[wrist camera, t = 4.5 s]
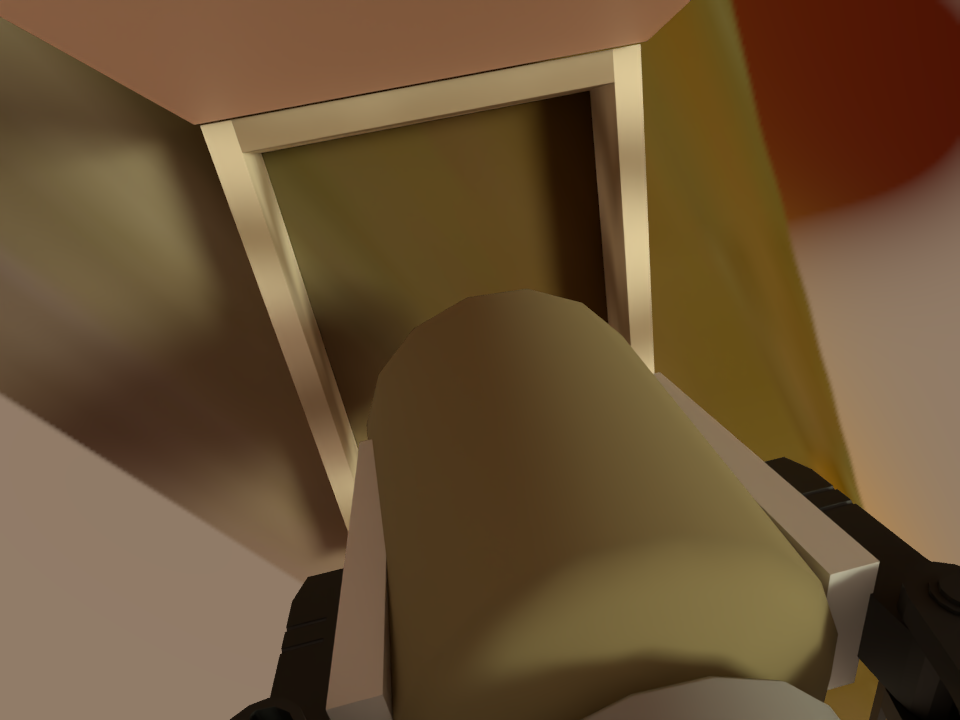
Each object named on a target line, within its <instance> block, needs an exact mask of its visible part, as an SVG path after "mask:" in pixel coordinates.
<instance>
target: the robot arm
mask: <svg viewBox="0 0 960 720" xmlns="http://www.w3.org/2000/svg"><path fill="white" fill-rule="evenodd" d="M654 376H655V377H656V378H657V379H658V381H659V382H660V383H661V384H662V386H663V387H664V388H665V389H666V391H667V392H668V393H669V394H670V395H671V397H672V398H673V399H674V400H675V402H676V403H677V404H678V405H679V407H680V408H681V409H682V410H683V412H684V413H685V414H686V415H687V416H688V418H689V419H690V420H691V421H692V423H693V424H694V425H695V426H696V428H697V429H698V430H699V431H700V433H701V434H702V435H703V436H704V437H705V439H706V440H707V441H708V442H709V444H710V445H711V446H712V447H713V449H714V450H715V451H716V452H717V454H718V455H719V456H720V457H721V458H722V460H723V461H724V462H725V463H726V465H727V466H728V467H729V468H730V470H731V471H732V472H733V473H734V475H735V476H736V477H737V478H738V479H739V481H740V482H741V483H742V484H743V486H744V487H745V488H746V489H747V491H748V492H749V493H750V494H751V496H752V497H753V498H754V499H755V501H756V502H757V503H758V504H759V505H760V507H761V508H762V509H763V510H764V512H765V513H766V514H767V515H768V517H769V518H770V519H771V520H772V522H773V523H774V524H775V525H776V526H777V528H778V529H779V530H780V531H781V533H782V534H783V535H784V536H785V538H786V539H787V540H788V541H789V543H790V544H791V545H792V546H793V547H794V549H795V550H796V551H797V552H798V554H799V555H800V556H801V557H802V559H803V560H804V561H805V562H806V564H807V565H808V566H809V567H810V568H811V570H812V571H813V572H814V573H815V575H816V576H817V577H818V578H819V580H820V581H821V583H822V586H823V589H824V592H825V595H826V598H827V602H828V605H829V608H830V611H831V614H832V617H833V620H834V623H835V626H836V629H837V632H838V638H837V643H836V649H835V655H834V661H833V667H832V673H831V678H830V681H829V685H828V689H827V690H829V689H833V688H836V687H840V686H843V685H847V684H850V683H854V681H855V676H856V671H857V667H858V662H859V659H860V660H861V661H862V662H863V663H864V664H865V665H866V666H867V668H868V669H869V670H870V671H871V672H872V673H873V674H874V675H875V676H876V678H877V679H878V680H879V682H878V686H877V690H876V694H875V698H874V702H873V707H872V711H871V715H870V719H869V720H886V718H887V720H960V566H958V565H955V564H947V563H940V562H931V561H929V560H928V559H926V558H925V557H923V556H922V555H921V554H920V553H918V552H917V551H916V550H915V549H913V548H912V547H911V546H909V545H908V544H907V543H906V542H904V541H903V540H902V539H900V538H899V537H898V536H896V535H895V534H894V533H893V532H891V531H890V530H889V529H888V528H886V527H885V526H884V525H883V524H881V523H880V522H879V521H877V520H876V519H875V518H873V517H872V516H871V515H870V514H868V513H867V512H866V511H865V510H863V509H862V508H861V507H859V506H858V505H857V504H853V503H852V502H851V500H850V499H849V498H848V497H847V496H845V495H844V494H843V493H841V492H840V491H839V490H838V489H836V490H835V489H834V488H833V486H832V485H831V484H830V483H829V482H827V481H826V480H825V479H823V478H822V477H821V476H820V475H818V474H817V473H816V472H815V471H813V470H812V469H810V468H808V467H805V466H803V465H801V464H799V463H796V462H794V461H792V460H790V459H787V458H785V457H782V458H778V459H774V460H770V461H766V462H764V461H762V460H761V459H760V458H759V457H758V456H757V455H755V454H754V453H753V452H752V451H751V450H750V449H748V448H747V447H746V446H745V445H744V444H743V443H741V442H740V441H739V440H738V439H737V438H736V437H735V436H733V435H732V434H731V433H730V432H729V431H728V430H726V429H725V428H724V427H723V426H722V425H721V424H719V423H718V422H717V421H716V420H715V419H714V418H712V417H711V416H710V415H709V414H708V413H707V412H705V411H704V410H703V409H702V408H701V407H700V406H698V405H697V404H696V403H695V402H694V401H693V400H692V399H690V398H689V397H688V396H687V395H686V394H685V393H683V392H682V391H681V390H680V389H679V388H678V387H676V386H675V385H674V384H673V383H672V382H671V381H669V380H668V379H667V378H666V377H665V376H664V375H662V374H661V373H660V372H659V373H655V374H654ZM286 628H287V632H285V635H284V640H283V644H282V648H281V649H282V654H280V657H279V661H278V665H277V670H276V674H275V678H274V683H273V687H272V691H271V696H270V698H267V699H265V700H262V701H259V702H257V703H254V704H252V705H249V706H248V707H246V708H245V709H244V710H242V711H241V712H240V713H238V714H237V715H235V716H234V717H233V718H232V719H230V720H393V710H392V693H391V667H390V641H389V615H388V589H387V563H386V550H385V541H384V533H383V525H382V517H381V508H380V500H379V492H378V484H377V476H376V467H375V459H374V451H373V443H372V439H371V440H366V441H362V442H360V443H359V451H358V459H357V467H356V475H355V483H354V490H353V498H352V506H351V514H350V522H349V530H348V538H347V546H346V554H345V561H344V568H343V569H339V570H335V571H331V572H327V573H323V574H319V575H315V576H311V577H307V579H306V581H305V582H304V584H303V585H302V587H301V589H300V590H299V592H298V593H297V595H296V596H295V598H294V599H293V601H292V605H291V609H290V613H289V618H288V622H287V627H286Z"/></svg>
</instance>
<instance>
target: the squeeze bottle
mask: <svg viewBox="0 0 960 720" xmlns="http://www.w3.org/2000/svg"><path fill="white" fill-rule="evenodd" d="M367 435H368V440H371V439H372V443H373V451H374V459H375V467H376V476H377V484H378V492H379V500H380V508H381V517H382V525H383V533H384V541H385V550H386V563H387V589H388V615H389V641H390V667H391V693H392V710H393V720H840V719H839V718H838V716H837V715H836V714H835V713H834V711H833V710H832V709H831V707H830V706H828V705H827V704H825V703H824V700H825V696H826V692H827V689H828V685H829V681H830V678H831V673H832V667H833V661H834V655H835V649H836V643H837V638H838V632H837V629H836V626H835V623H834V620H833V617H832V614H831V611H830V608H829V605H828V602H827V598H826V595H825V592H824V589H823V586H822V583H821V581H820V580H819V578H818V577H817V576H816V575H815V573H814V572H813V571H812V570H811V568H810V567H809V566H808V565H807V564H806V562H805V561H804V560H803V559H802V557H801V556H800V555H799V554H798V552H797V551H796V550H795V549H794V547H793V546H792V545H791V544H790V543H789V541H788V540H787V539H786V538H785V536H784V535H783V534H782V533H781V531H780V530H779V529H778V528H777V526H776V525H775V524H774V523H773V522H772V520H771V519H770V518H769V517H768V515H767V514H766V513H765V512H764V510H763V509H762V508H761V507H760V505H759V504H758V503H757V502H756V501H755V499H754V498H753V497H752V496H751V494H750V493H749V492H748V491H747V489H746V488H745V487H744V486H743V484H742V483H741V482H740V481H739V479H738V478H737V477H736V476H735V475H734V473H733V472H732V471H731V470H730V468H729V467H728V466H727V465H726V463H725V462H724V461H723V460H722V458H721V457H720V456H719V455H718V454H717V452H716V451H715V450H714V449H713V447H712V446H711V445H710V444H709V442H708V441H707V440H706V439H705V437H704V436H703V435H702V434H701V433H700V431H699V430H698V429H697V428H696V426H695V425H694V424H693V423H692V421H691V420H690V419H689V418H688V416H687V415H686V414H685V413H684V412H683V410H682V409H681V408H680V407H679V405H678V404H677V403H676V402H675V400H674V399H673V398H672V397H671V395H670V394H669V393H668V392H667V391H666V389H665V388H664V387H663V386H662V384H661V383H660V382H659V381H658V379H657V378H656V377H655V376H654V374H653V373H652V372H651V371H650V369H649V368H648V367H647V366H646V365H645V363H644V362H643V361H642V360H641V358H640V357H639V356H638V355H637V353H636V352H635V351H634V350H633V348H632V347H631V346H630V345H629V344H628V342H627V341H626V340H625V339H624V337H623V336H622V335H621V334H620V333H618V332H617V331H616V330H615V329H614V328H612V327H611V326H610V325H609V324H607V323H606V322H605V321H604V320H603V319H601V318H600V317H599V316H598V315H596V314H595V313H594V312H593V311H592V310H590V309H589V308H588V307H587V306H585V305H584V304H583V303H581V302H577V301H573V300H569V299H565V298H562V297H558V296H554V295H550V294H546V293H542V292H538V291H534V290H530V289H522V290H515V291H508V292H501V293H495V294H488V295H481V296H474V297H468V298H465V299H464V300H462V301H460V302H459V303H457V304H455V305H453V306H452V307H450V308H448V309H446V310H445V311H443V312H441V313H440V314H438V315H436V316H434V317H433V318H431V319H429V320H427V321H426V322H424V323H422V324H421V325H419V326H417V327H415V328H414V329H413V330H412V331H411V333H410V334H409V335H408V337H407V338H406V339H405V341H404V342H403V343H402V344H401V346H400V347H399V348H398V350H397V351H396V352H395V354H394V355H393V356H392V357H391V359H390V360H389V361H388V363H387V364H386V365H385V367H384V368H383V369H382V370H381V372H380V373H379V375H378V379H377V383H376V387H375V392H374V396H373V400H372V404H371V409H370V413H369V417H368V421H367Z"/></svg>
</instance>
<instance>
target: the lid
mask: <svg viewBox="0 0 960 720" xmlns="http://www.w3.org/2000/svg"><path fill="white" fill-rule="evenodd" d="M689 1H691V0H0V17H2V18H4V19H6V20H7V21H9V22H11V23H13V24H15V25H16V26H18V27H20V28H22V29H23V30H25V31H27V32H29V33H31V34H32V35H34V36H36V37H38V38H40V39H41V40H43V41H45V42H47V43H49V44H50V45H52V46H54V47H56V48H58V49H59V50H61V51H63V52H65V53H66V54H68V55H70V56H72V57H74V58H75V59H77V60H79V61H81V62H83V63H84V64H86V65H88V66H90V67H92V68H93V69H95V70H97V71H99V72H100V73H102V74H104V75H106V76H108V77H109V78H111V79H113V80H115V81H117V82H118V83H120V84H122V85H124V86H126V87H127V88H129V89H131V90H133V91H135V92H136V93H138V94H140V95H142V96H143V97H145V98H147V99H149V100H151V101H152V102H154V103H156V104H158V105H160V106H161V107H163V108H165V109H167V110H169V111H170V112H172V113H174V114H176V115H177V116H179V117H181V118H183V119H185V120H186V121H188V122H190V123H192V124H194V125H196V124H201V123H207V122H212V121H218V120H223V119H228V118H234V117H239V116H245V115H250V114H255V113H261V112H266V111H272V110H277V109H283V108H288V107H293V106H299V105H304V104H310V103H315V102H320V101H326V100H331V99H337V98H342V97H347V96H353V95H358V94H364V93H369V92H374V91H380V90H385V89H391V88H396V87H401V86H407V85H412V84H418V83H423V82H428V81H434V80H439V79H445V78H450V77H455V76H461V75H466V74H472V73H477V72H482V71H488V70H493V69H499V68H504V67H510V66H515V65H520V64H526V63H531V62H537V61H542V60H547V59H553V58H558V57H564V56H569V55H574V54H580V53H585V52H591V51H596V50H601V49H607V48H612V47H618V46H623V45H628V44H634V43H639V42H645V41H648V40H649V39H650V38H651V37H652V36H653V35H654V34H655V33H656V32H657V31H658V30H659V29H660V28H662V27H663V26H664V25H665V24H666V23H667V22H668V21H669V20H670V19H671V18H672V17H673V16H674V15H675V14H677V13H678V12H679V11H680V10H681V9H682V8H683V7H684V6H685V5H686V4H687V3H688V2H689Z"/></svg>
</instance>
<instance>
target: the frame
mask: <svg viewBox="0 0 960 720" xmlns="http://www.w3.org/2000/svg"><path fill="white" fill-rule="evenodd" d="M585 91H590V99H591V111H592V124H593V136H594V149H595V161H596V174H597V186H598V199H599V212H600V224H601V237H602V249H603V262H604V274H605V287H606V300H607V312H608V324H609V325H610V326H611V327H612V328H614V329H615V330H616V331H617V332H618V333H620V334H621V335H622V336H623V337H624V339H625V340H626V341H627V342H628V344H629V345H630V346H631V347H632V348H633V350H634V351H635V352H636V353H637V355H638V356H639V357H640V358H641V360H642V361H643V362H644V363H645V365H646V366H647V367H648V368H649V369H650V371H651V372H652V373H653V374H654V353H653V329H652V306H651V282H650V259H649V235H648V211H647V188H646V164H645V141H644V117H643V94H642V70H641V46H640V44H638V45H633V46H628V47H622V48H617V49H611V50H606V51H601V52H595V53H590V54H584V55H579V56H574V57H568V58H563V59H557V60H552V61H547V62H541V63H536V64H530V65H525V66H520V67H514V68H509V69H503V70H498V71H493V72H487V73H482V74H476V75H471V76H466V77H460V78H455V79H450V80H444V81H439V82H433V83H428V84H423V85H417V86H412V87H406V88H401V89H396V90H390V91H385V92H379V93H374V94H369V95H363V96H358V97H352V98H347V99H342V100H336V101H331V102H325V103H320V104H315V105H309V106H304V107H298V108H293V109H288V110H282V111H277V112H271V113H266V114H261V115H255V116H250V117H244V118H239V119H234V120H228V121H223V122H217V123H212V124H207V125H201V126H200V127H201V130H202V133H203V135H204V138H205V141H206V144H207V146H208V149H209V152H210V154H211V157H212V160H213V163H214V165H215V168H216V171H217V174H218V176H219V179H220V182H221V185H222V187H223V190H224V193H225V196H226V198H227V201H228V204H229V207H230V209H231V212H232V215H233V218H234V220H235V223H236V226H237V229H238V231H239V234H240V237H241V239H242V242H243V245H244V248H245V250H246V253H247V256H248V259H249V261H250V264H251V267H252V270H253V272H254V275H255V278H256V281H257V283H258V286H259V289H260V292H261V294H262V297H263V300H264V303H265V305H266V308H267V311H268V313H269V316H270V319H271V322H272V324H273V327H274V330H275V333H276V335H277V338H278V341H279V344H280V346H281V349H282V352H283V355H284V357H285V360H286V363H287V366H288V368H289V371H290V374H291V377H292V379H293V382H294V385H295V388H296V390H297V393H298V396H299V398H300V401H301V404H302V407H303V409H304V412H305V415H306V418H307V420H308V423H309V426H310V429H311V431H312V434H313V437H314V440H315V442H316V445H317V448H318V451H319V453H320V456H321V459H322V462H323V464H324V467H325V470H326V473H327V475H328V478H329V481H330V483H331V486H332V489H333V492H334V494H335V497H336V500H337V503H338V505H339V508H340V511H341V514H342V516H343V519H344V522H345V525H346V527H347V530H349V522H350V514H351V506H352V498H353V490H354V483H355V475H356V467H357V459H358V448H357V445H356V442H355V439H354V436H353V432H352V429H351V426H350V423H349V420H348V417H347V414H346V411H345V408H344V405H343V402H342V399H341V396H340V393H339V390H338V387H337V384H336V380H335V377H334V374H333V371H332V368H331V365H330V362H329V359H328V356H327V353H326V350H325V347H324V344H323V341H322V338H321V335H320V331H319V328H318V325H317V322H316V319H315V316H314V313H313V310H312V307H311V304H310V301H309V298H308V295H307V292H306V289H305V286H304V283H303V279H302V276H301V273H300V270H299V267H298V264H297V261H296V258H295V255H294V252H293V249H292V246H291V243H290V240H289V237H288V234H287V231H286V227H285V224H284V221H283V218H282V215H281V212H280V209H279V206H278V203H277V200H276V197H275V194H274V191H273V188H272V185H271V182H270V178H269V175H268V172H267V169H266V166H265V163H264V160H263V157H262V154H261V153H265V152H270V151H275V150H280V149H286V148H291V147H296V146H301V145H307V144H312V143H317V142H322V141H328V140H333V139H338V138H343V137H349V136H354V135H359V134H364V133H370V132H375V131H380V130H385V129H391V128H396V127H401V126H406V125H412V124H417V123H422V122H427V121H433V120H438V119H443V118H448V117H454V116H459V115H464V114H469V113H475V112H480V111H485V110H490V109H496V108H501V107H506V106H511V105H517V104H522V103H527V102H532V101H538V100H543V99H548V98H553V97H559V96H564V95H569V94H574V93H580V92H585Z"/></svg>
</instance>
